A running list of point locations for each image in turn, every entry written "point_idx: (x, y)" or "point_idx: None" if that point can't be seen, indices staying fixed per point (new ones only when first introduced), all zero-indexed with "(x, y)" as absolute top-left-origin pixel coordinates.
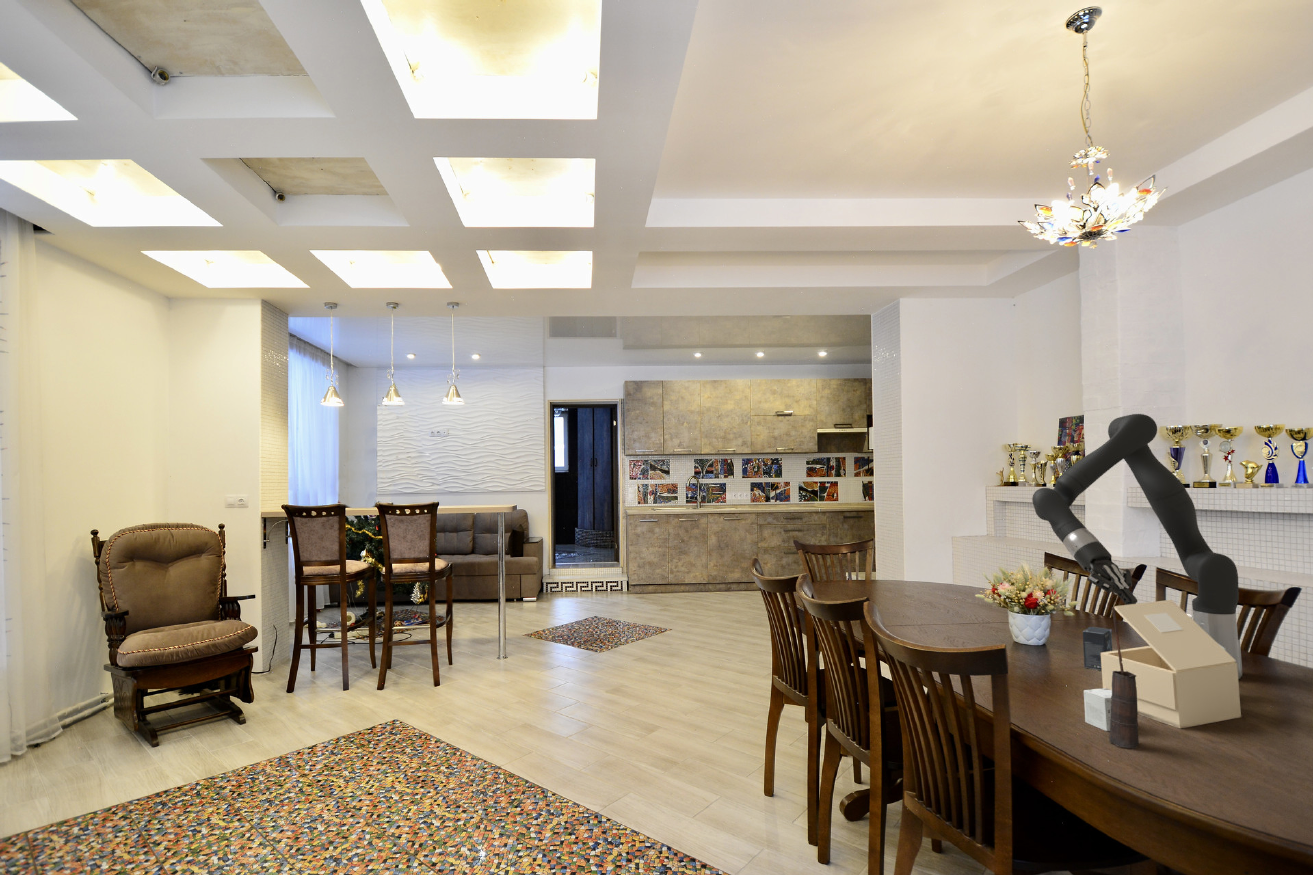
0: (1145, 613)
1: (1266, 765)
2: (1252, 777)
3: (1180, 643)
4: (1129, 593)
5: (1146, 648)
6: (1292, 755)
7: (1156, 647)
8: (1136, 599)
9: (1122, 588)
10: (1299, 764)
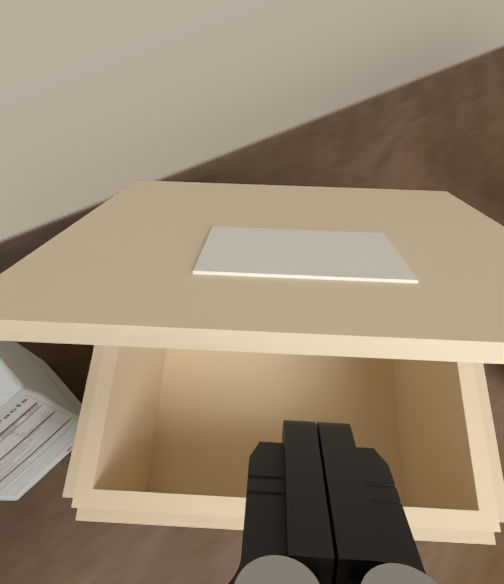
0: (390, 289)
1: (413, 122)
2: (487, 107)
3: (317, 212)
4: (323, 490)
5: (188, 495)
6: (320, 129)
7: (477, 218)
8: (291, 423)
9: (399, 571)
10: (352, 107)
